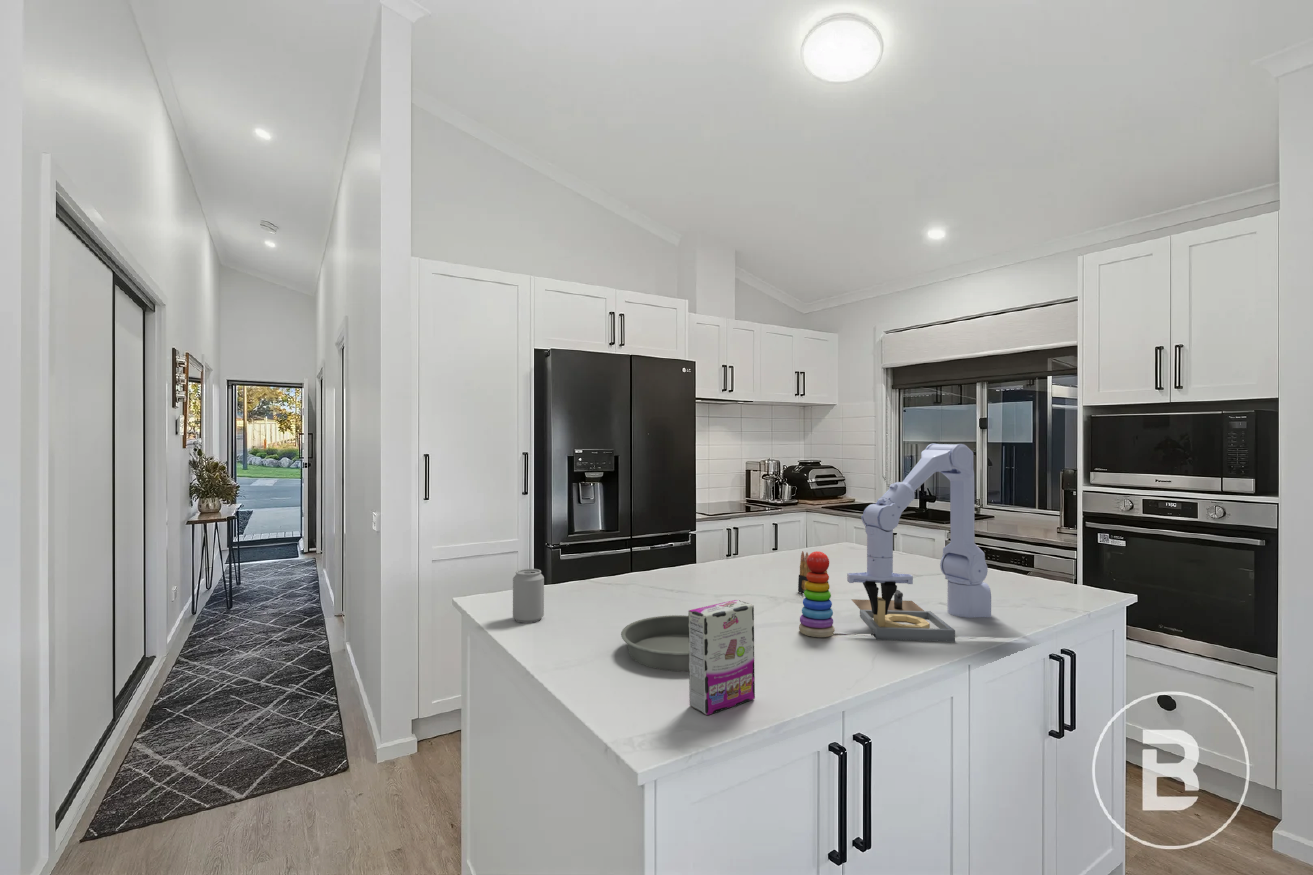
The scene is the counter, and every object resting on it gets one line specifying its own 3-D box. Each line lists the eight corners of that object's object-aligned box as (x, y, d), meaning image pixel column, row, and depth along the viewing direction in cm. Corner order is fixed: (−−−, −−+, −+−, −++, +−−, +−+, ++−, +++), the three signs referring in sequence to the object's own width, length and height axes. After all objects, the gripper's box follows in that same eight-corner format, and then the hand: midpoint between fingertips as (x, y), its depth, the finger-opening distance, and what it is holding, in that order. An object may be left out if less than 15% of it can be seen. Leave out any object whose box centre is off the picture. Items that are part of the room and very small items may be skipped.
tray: (930, 621, 154) (930, 611, 154) (955, 641, 139) (955, 630, 139) (859, 619, 155) (859, 609, 155) (876, 639, 140) (876, 628, 140)
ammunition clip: (829, 599, 174) (829, 556, 174) (824, 600, 173) (824, 557, 173) (802, 591, 183) (802, 550, 183) (797, 591, 182) (798, 550, 182)
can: (547, 615, 158) (547, 567, 158) (538, 624, 151) (539, 574, 151) (518, 614, 159) (518, 567, 159) (508, 623, 151) (508, 573, 151)
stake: (900, 606, 163) (900, 590, 163) (904, 610, 160) (904, 593, 160) (892, 606, 164) (892, 589, 164) (896, 610, 160) (896, 593, 160)
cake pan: (606, 641, 139) (606, 621, 139) (707, 629, 148) (707, 610, 148) (643, 682, 116) (643, 658, 116) (760, 665, 125) (760, 643, 125)
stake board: (911, 604, 169) (911, 600, 169) (930, 619, 155) (930, 615, 155) (851, 602, 170) (851, 599, 170) (864, 618, 156) (864, 614, 156)
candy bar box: (735, 690, 112) (736, 598, 112) (755, 699, 108) (756, 604, 108) (686, 705, 106) (687, 608, 106) (706, 716, 102) (706, 615, 102)
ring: (919, 619, 152) (919, 595, 152) (934, 632, 142) (934, 606, 142) (869, 618, 153) (870, 593, 153) (881, 630, 143) (882, 604, 143)
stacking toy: (836, 639, 140) (836, 555, 140) (799, 637, 141) (799, 554, 141) (833, 629, 148) (833, 549, 148) (798, 626, 149) (798, 548, 149)
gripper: (906, 553, 151) (905, 609, 151) (844, 552, 152) (844, 608, 152) (916, 558, 144) (915, 618, 144) (851, 557, 145) (851, 616, 145)
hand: (879, 613), depth 147 cm, fingers closed on ring
